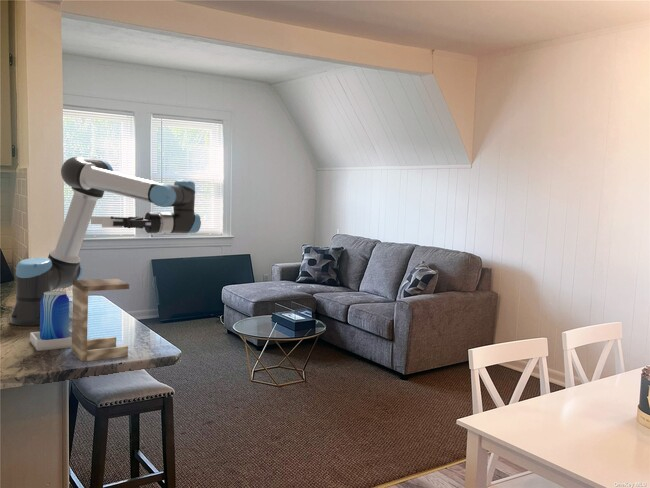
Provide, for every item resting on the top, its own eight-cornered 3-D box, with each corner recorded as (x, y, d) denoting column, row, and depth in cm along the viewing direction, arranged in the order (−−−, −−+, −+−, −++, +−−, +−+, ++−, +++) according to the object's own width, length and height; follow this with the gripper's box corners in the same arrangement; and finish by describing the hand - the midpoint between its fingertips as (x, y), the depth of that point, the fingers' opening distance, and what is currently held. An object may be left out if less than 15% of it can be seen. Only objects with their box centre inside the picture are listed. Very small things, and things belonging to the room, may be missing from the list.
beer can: (48, 337, 186) (49, 289, 185) (73, 338, 186) (74, 291, 184) (34, 343, 178) (35, 294, 176) (60, 345, 177) (60, 295, 176)
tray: (30, 341, 182) (30, 332, 182) (69, 337, 190) (70, 328, 190) (37, 350, 173) (37, 341, 172) (78, 346, 180) (79, 337, 180)
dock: (81, 361, 165) (83, 286, 163) (71, 350, 175) (72, 279, 173) (127, 355, 173) (129, 284, 171) (115, 345, 183) (116, 278, 181)
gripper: (170, 236, 191) (106, 236, 178) (145, 230, 211) (86, 229, 198) (171, 214, 190) (107, 212, 177) (146, 210, 210) (86, 208, 197)
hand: (96, 221), depth 188 cm, fingers open, 13 cm apart
